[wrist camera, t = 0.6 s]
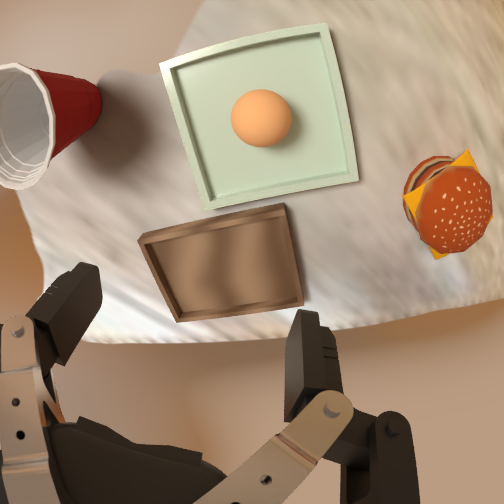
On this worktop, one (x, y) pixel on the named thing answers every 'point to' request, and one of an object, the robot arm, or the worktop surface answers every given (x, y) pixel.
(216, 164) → the dish
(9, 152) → the plastic cup
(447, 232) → the hamburger
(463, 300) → the worktop surface
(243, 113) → the ball
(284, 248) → the tray
